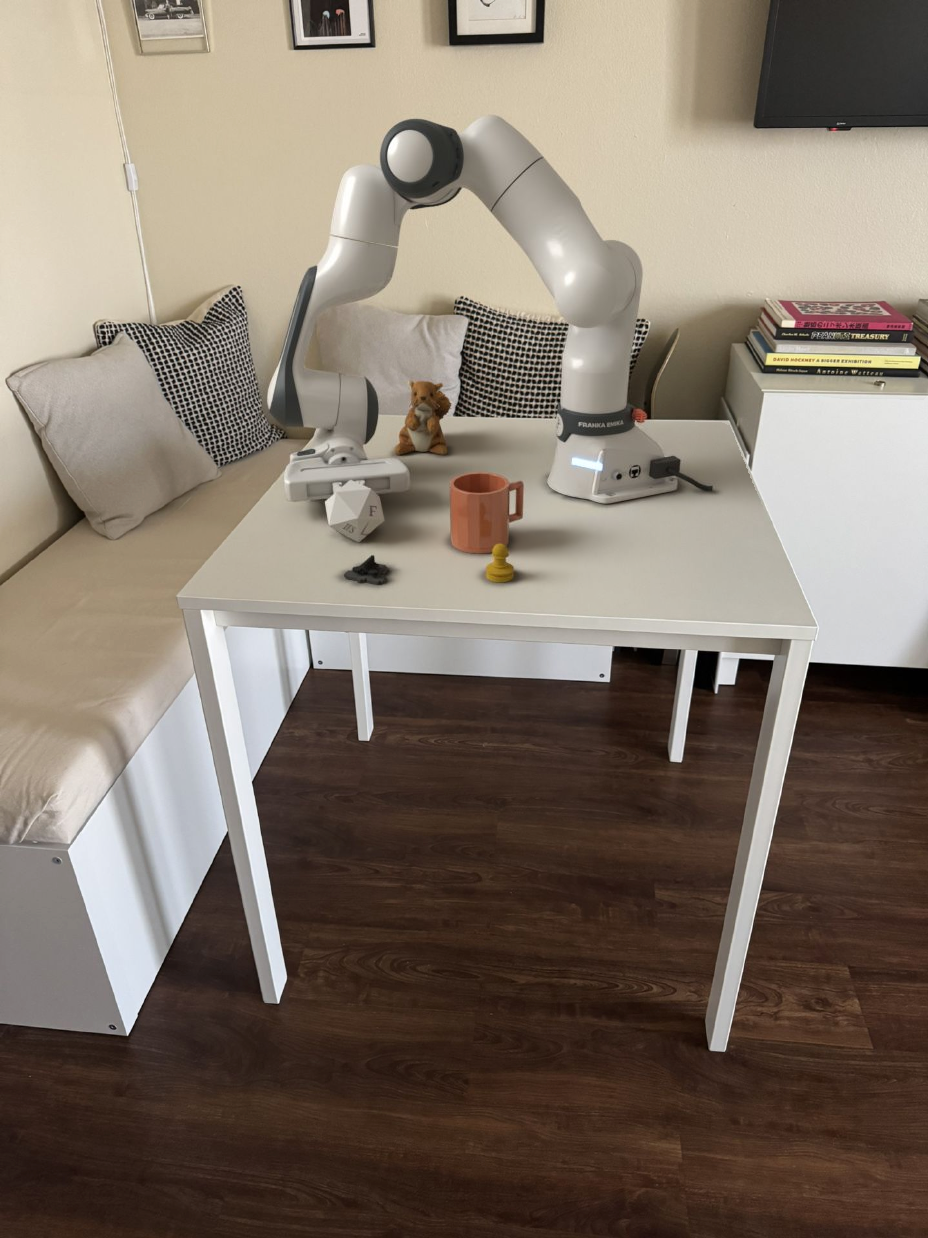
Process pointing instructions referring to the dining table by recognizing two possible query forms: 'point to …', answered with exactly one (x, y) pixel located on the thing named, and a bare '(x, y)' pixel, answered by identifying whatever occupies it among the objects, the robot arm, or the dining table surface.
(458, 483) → the mug
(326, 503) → the die
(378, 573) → the block figure
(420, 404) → the stuffed squirrel
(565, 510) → the dining table surface
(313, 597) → the dining table surface
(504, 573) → the chess piece
